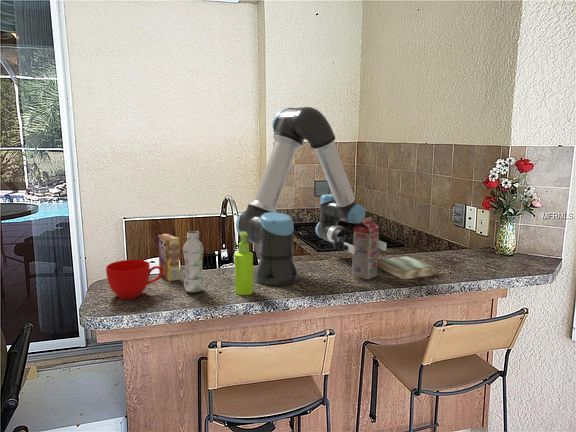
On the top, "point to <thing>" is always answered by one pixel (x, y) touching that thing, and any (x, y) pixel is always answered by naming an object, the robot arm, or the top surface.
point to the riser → (406, 267)
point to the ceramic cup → (130, 277)
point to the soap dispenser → (243, 268)
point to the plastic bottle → (193, 263)
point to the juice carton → (365, 249)
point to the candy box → (169, 257)
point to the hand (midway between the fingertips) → (370, 248)
